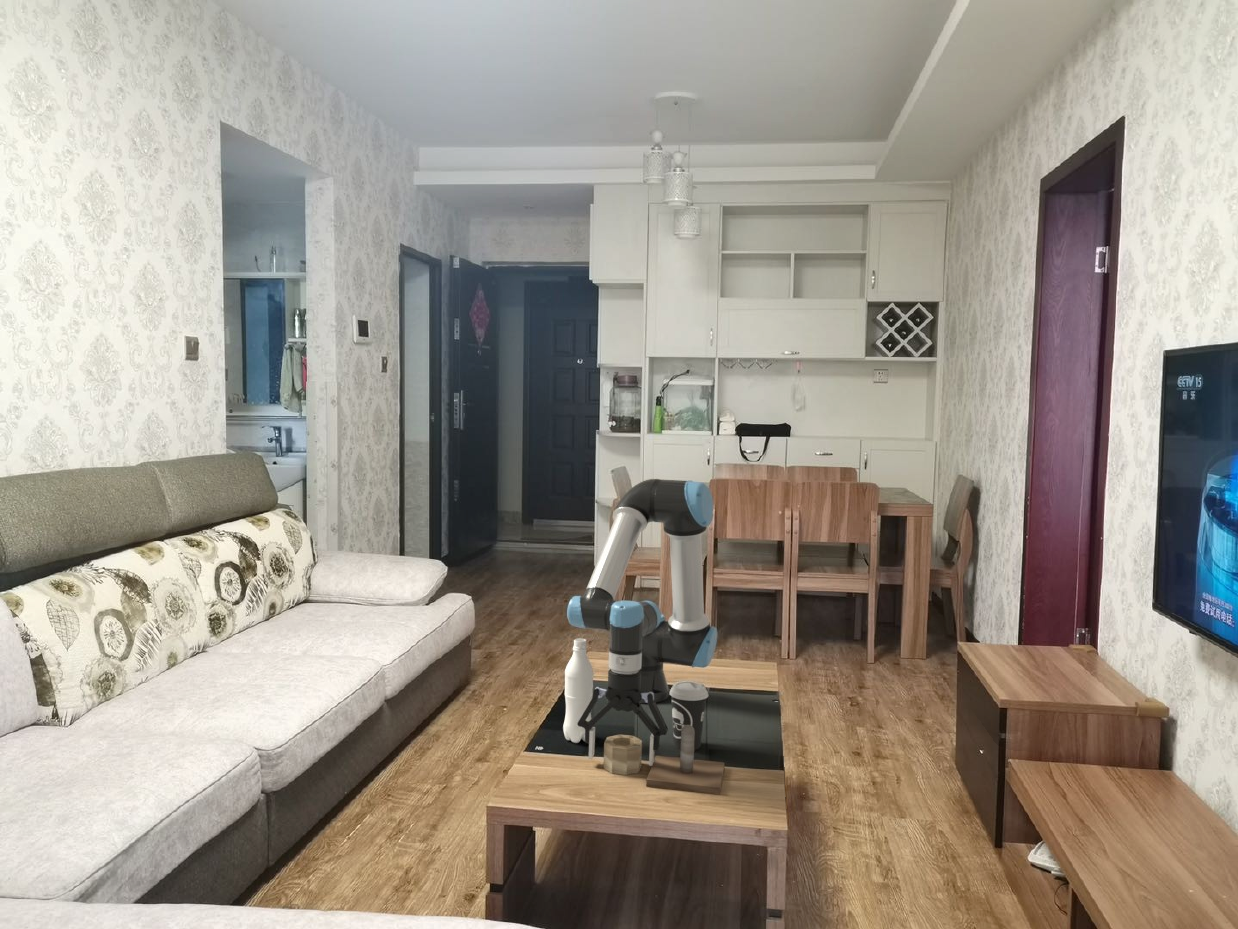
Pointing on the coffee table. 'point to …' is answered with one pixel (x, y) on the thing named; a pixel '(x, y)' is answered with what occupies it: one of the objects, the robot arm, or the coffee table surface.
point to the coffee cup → (688, 709)
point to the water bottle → (577, 691)
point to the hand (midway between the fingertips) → (621, 761)
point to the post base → (686, 781)
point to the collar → (622, 754)
